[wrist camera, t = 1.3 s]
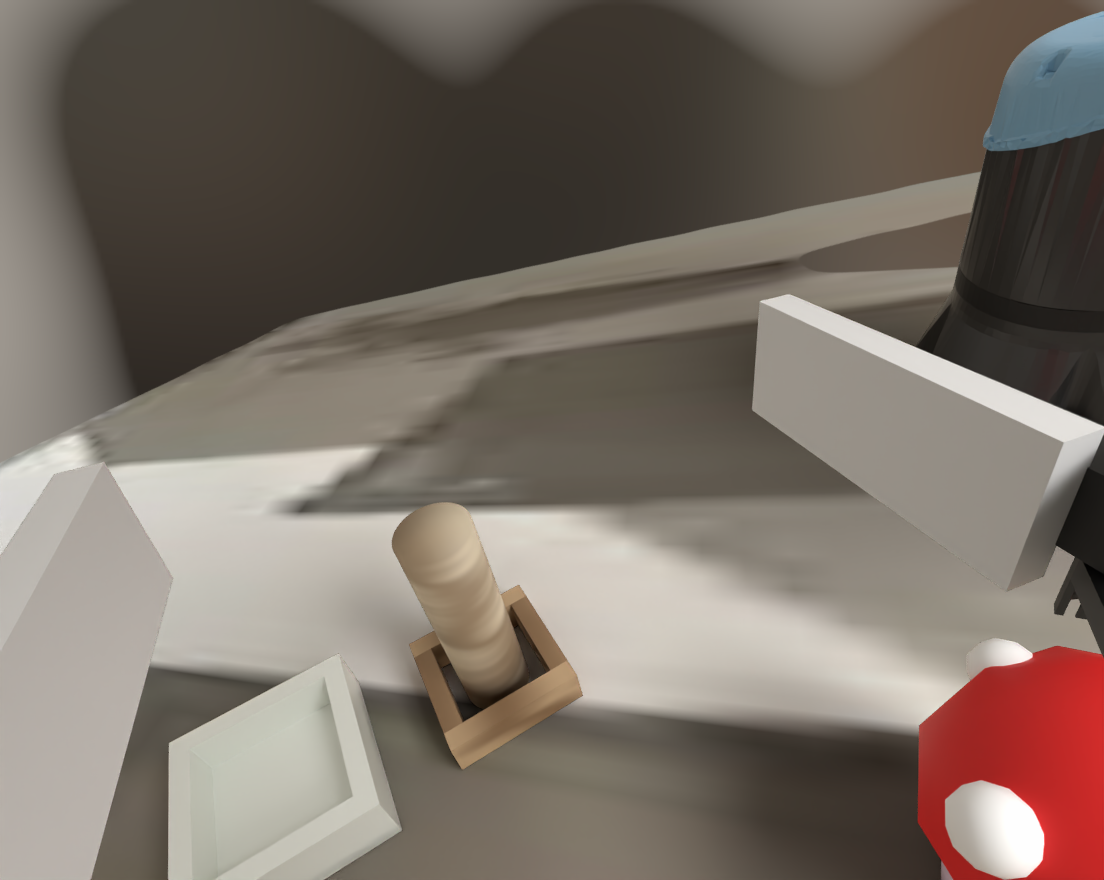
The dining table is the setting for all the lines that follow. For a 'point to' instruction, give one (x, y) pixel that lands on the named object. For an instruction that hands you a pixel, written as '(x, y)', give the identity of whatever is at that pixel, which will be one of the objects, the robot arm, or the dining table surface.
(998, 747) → the mushroom
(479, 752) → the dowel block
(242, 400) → the dining table surface
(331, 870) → the tray
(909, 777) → the dining table surface
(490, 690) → the dowel
